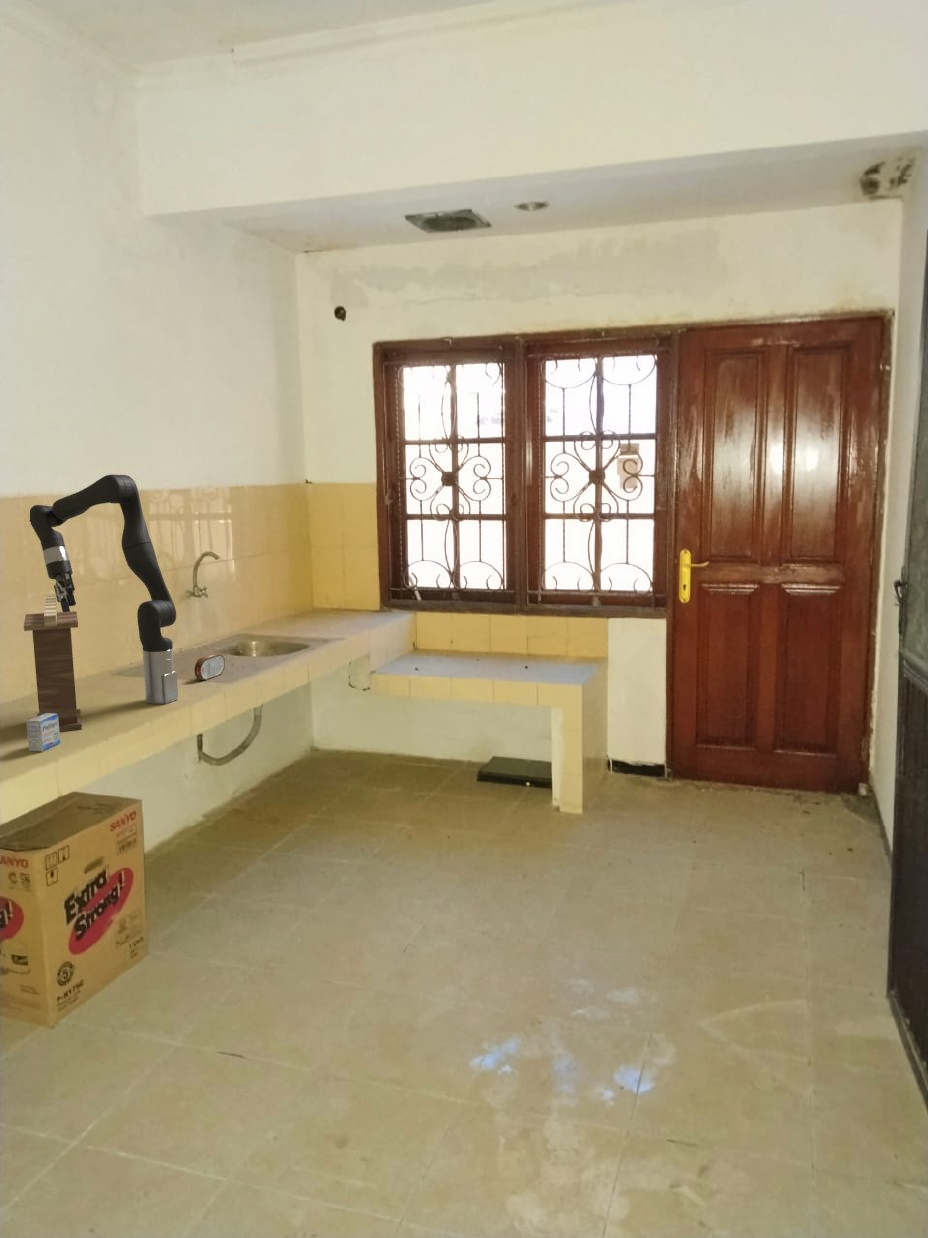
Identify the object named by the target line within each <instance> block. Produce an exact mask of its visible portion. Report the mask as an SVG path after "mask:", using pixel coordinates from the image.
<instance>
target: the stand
mask: <svg viewBox="0 0 928 1238" xmlns="http://www.w3.org/2000/svg"><path fill="white" fill-rule="evenodd" d="M23 621H24V622H23V631H24V632H30V631H32V641H33V642H32V643H33V654H34V656H33V657H34V665H35V666H34V667H35V679H36V689H37V691H36V693H37V702H38V712H37V715H36V717H37V716H40V715H42V714H44V713H54V714H58V722H59V733H62V732H68V731H69V732H70V731H79V730H82V729H83V728H82V726H83V725H82V716H81V715H82V714H81V708H77V696H76V683H75V681H76V680H75V670H74V668H75V667H74V655H73V653H74V652H73V644H72V630H71V629H74V628H79V622H78V621H79V619H78V613H77V610H74V611H70V612H63V611H61V612H60V611H59V612H58V611H57V626H50V627H45V623H44V612H42V613H41V612H40V613H26V614H25V617H24V620H23Z"/></svg>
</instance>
